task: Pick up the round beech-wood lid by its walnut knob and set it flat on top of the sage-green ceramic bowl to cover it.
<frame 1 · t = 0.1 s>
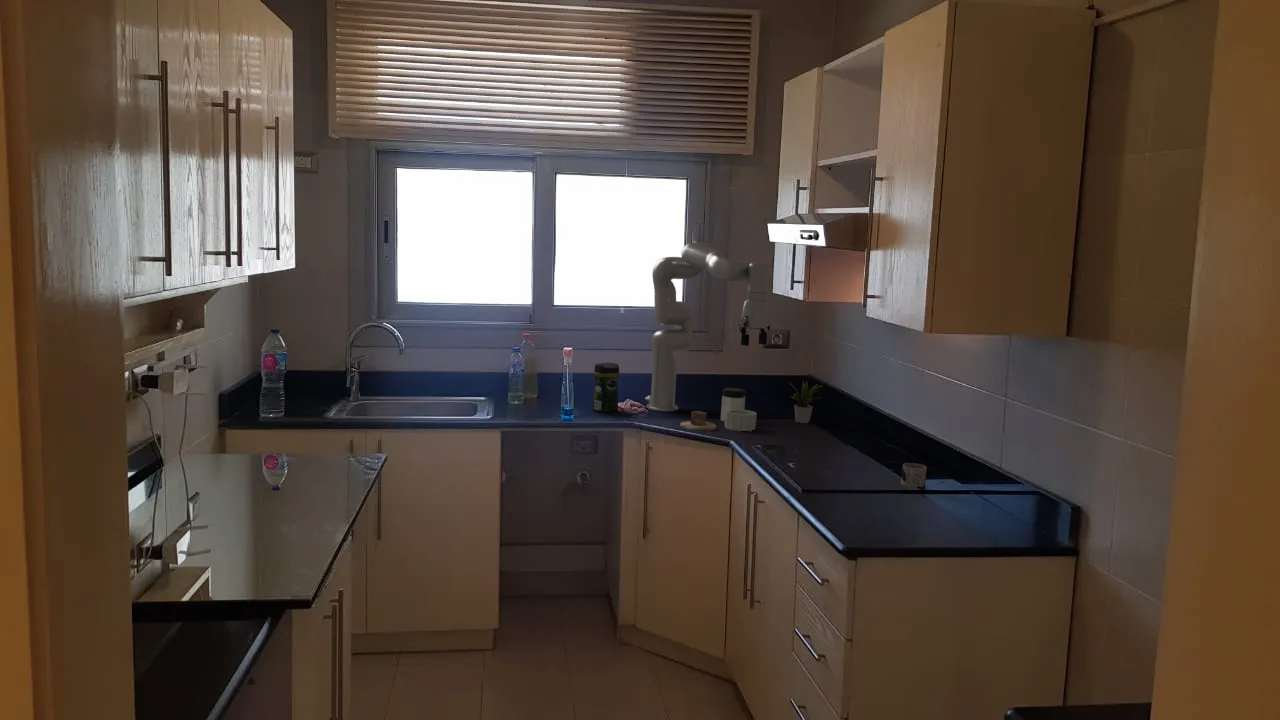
hand: (753, 344, 352), 31 cm above the countertop, tool pointing down, fingers open, 9 cm apart
jar: (732, 421, 372), on the countertop
lid: (698, 427, 357), on the countertop
bowl: (739, 428, 358), on the countertop
coffee jar: (604, 411, 379), on the countertop
mug: (911, 490, 283), on the countertop
house plant: (805, 422, 377), on the countertop
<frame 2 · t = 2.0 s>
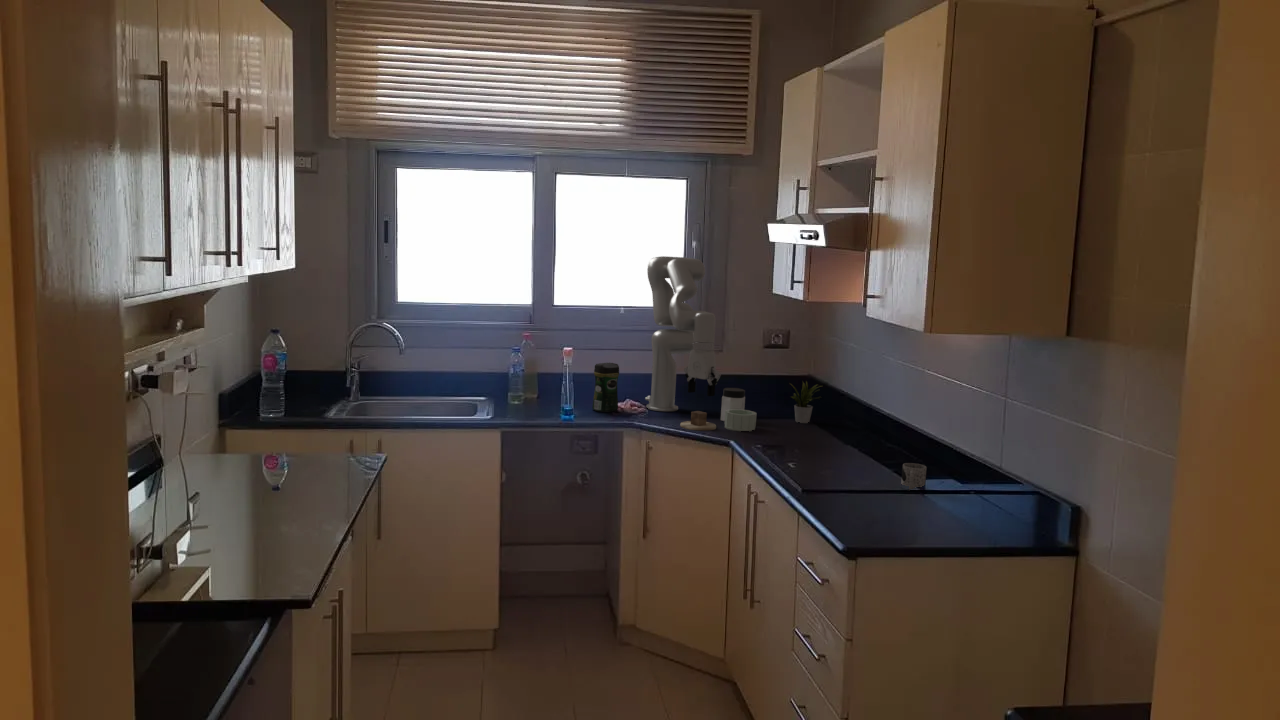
hand: (701, 394, 355), 12 cm above the countertop, tool pointing down, fingers open, 9 cm apart
nothing on the countertop moved.
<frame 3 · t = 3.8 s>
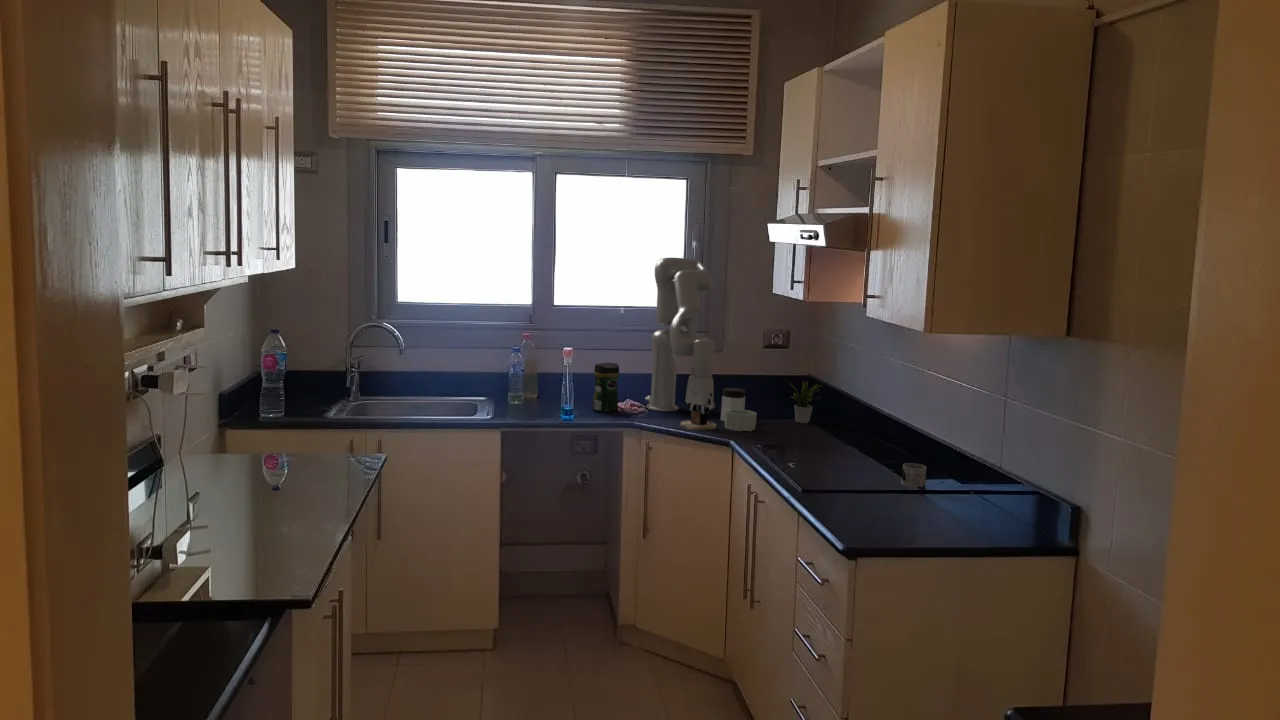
hand: (698, 422, 356), 2 cm above the countertop, tool pointing down, fingers closed on lid, 4 cm apart
lid: (698, 427, 357), on the countertop, touching gripper
everything else where it was.
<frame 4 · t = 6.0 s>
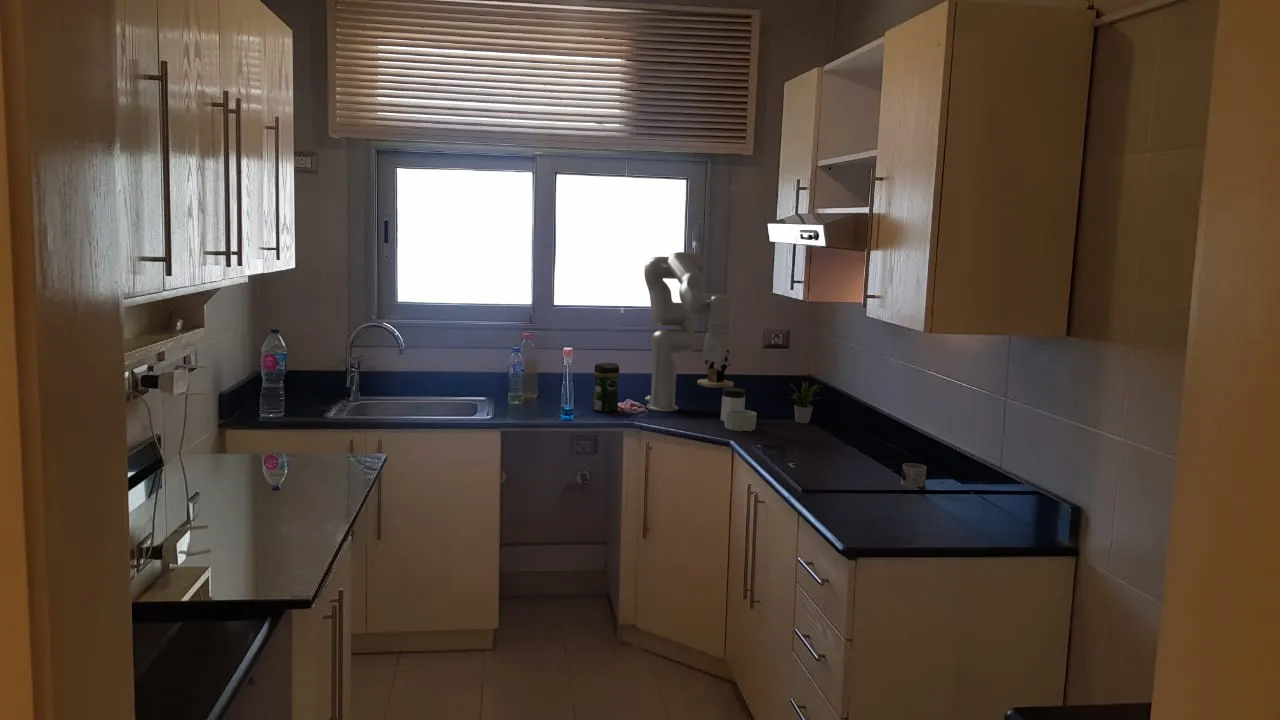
hand: (715, 379, 355), 17 cm above the countertop, tool pointing down, fingers closed on lid, 4 cm apart
lid: (715, 384, 355), point 16 cm above the countertop, touching gripper
everything else where it was.
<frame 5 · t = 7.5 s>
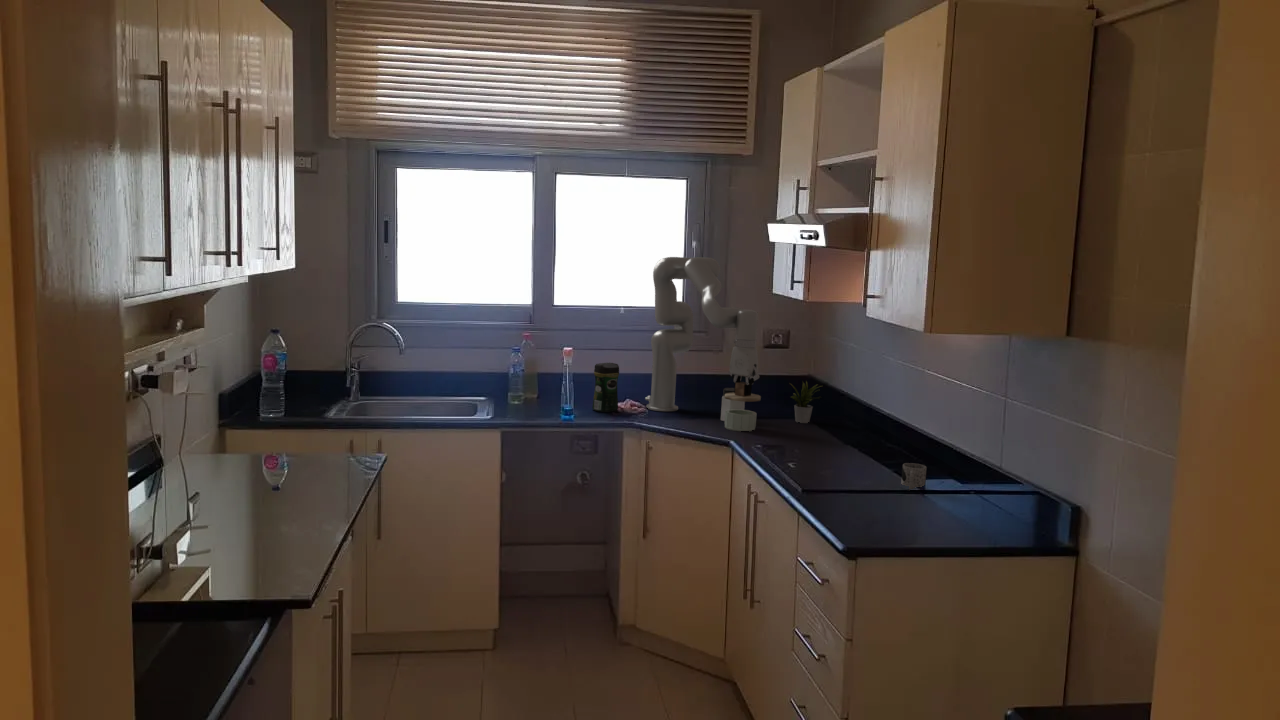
hand: (742, 393, 356), 13 cm above the countertop, tool pointing down, fingers closed on lid, 4 cm apart
lid: (742, 398, 356), point 11 cm above the countertop, touching gripper
everything else where it was.
when the fingers open (9 cm above the countertop, at t = 8.5 s): lid drops 1 cm, resting on bowl.
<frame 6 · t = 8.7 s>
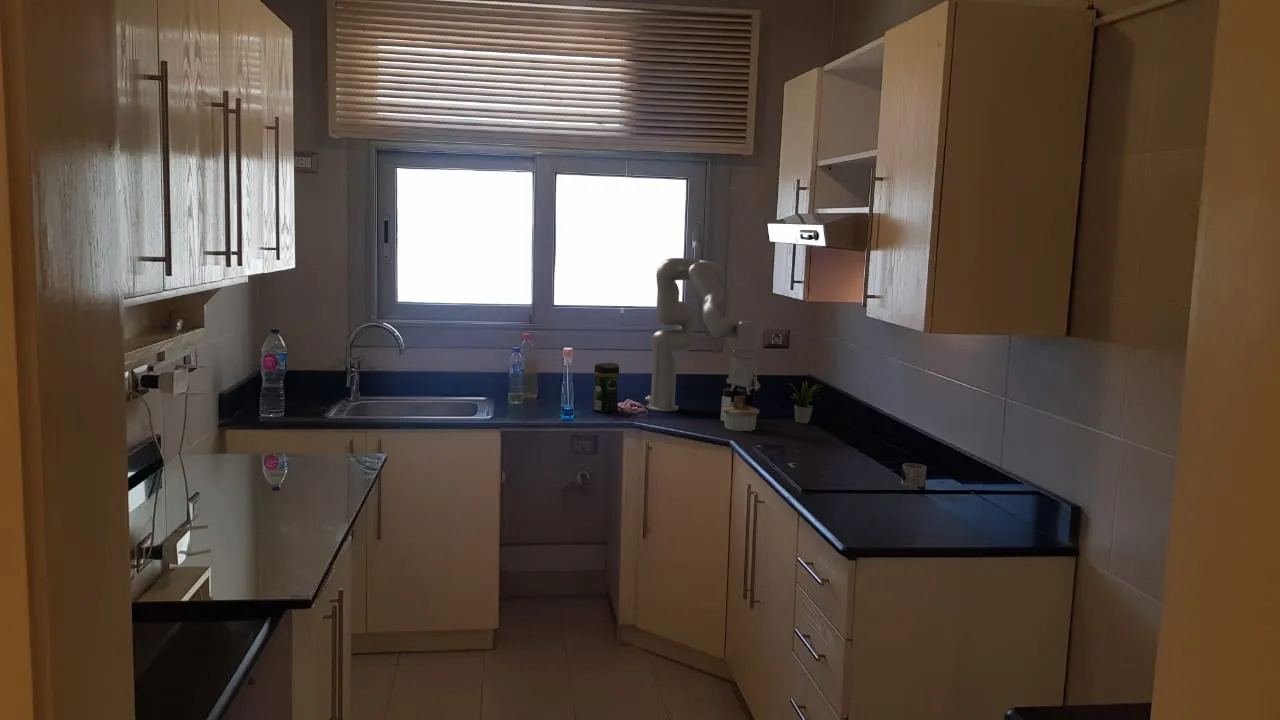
hand: (741, 403, 357), 9 cm above the countertop, tool pointing down, fingers open, 6 cm apart
lid: (740, 412, 357), point 6 cm above the countertop, touching bowl
everything else where it was.
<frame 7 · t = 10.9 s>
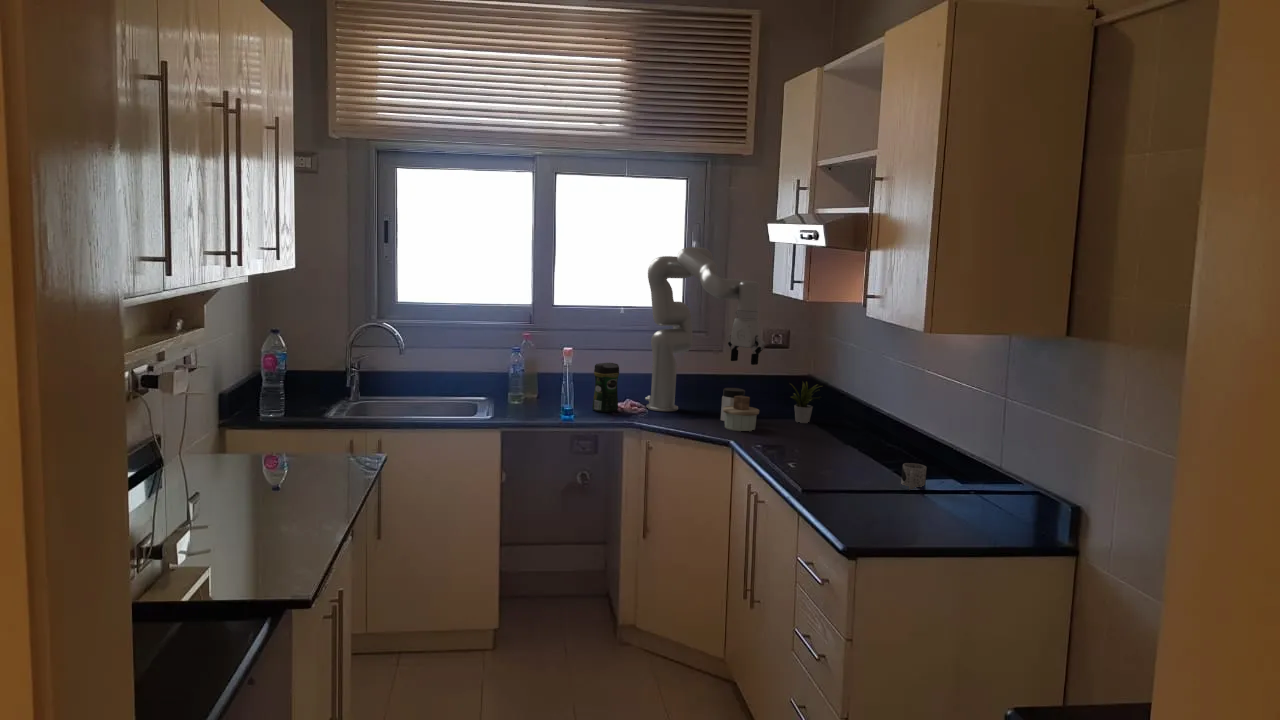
hand: (744, 362, 355), 24 cm above the countertop, tool pointing down, fingers open, 9 cm apart
nothing on the countertop moved.
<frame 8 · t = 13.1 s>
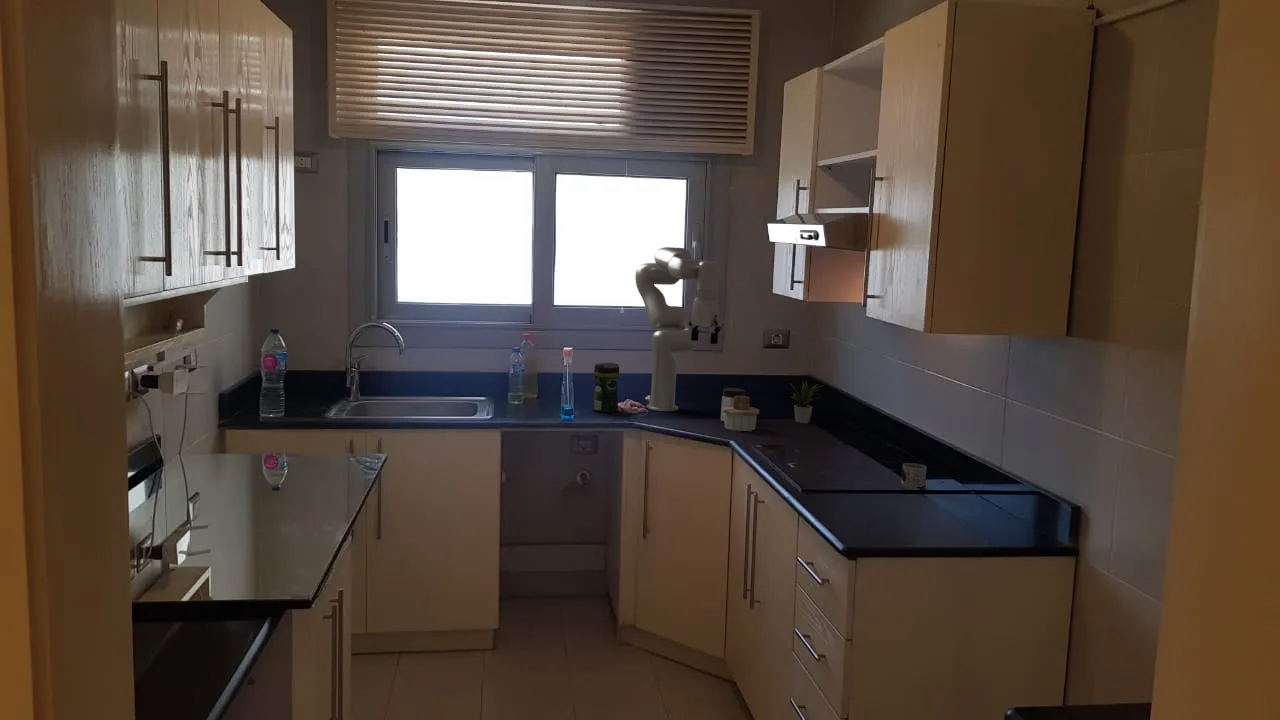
hand: (704, 342, 359), 30 cm above the countertop, tool pointing down, fingers open, 9 cm apart
nothing on the countertop moved.
at the end: lid 0.1 cm off-centre on the bowl, point 6.0 cm above the bowl's base; lid tilted 0°; the gripper is holding nothing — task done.
